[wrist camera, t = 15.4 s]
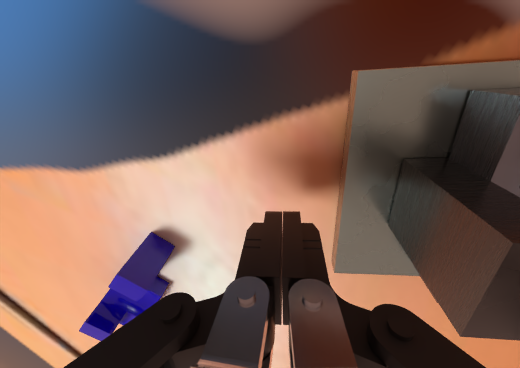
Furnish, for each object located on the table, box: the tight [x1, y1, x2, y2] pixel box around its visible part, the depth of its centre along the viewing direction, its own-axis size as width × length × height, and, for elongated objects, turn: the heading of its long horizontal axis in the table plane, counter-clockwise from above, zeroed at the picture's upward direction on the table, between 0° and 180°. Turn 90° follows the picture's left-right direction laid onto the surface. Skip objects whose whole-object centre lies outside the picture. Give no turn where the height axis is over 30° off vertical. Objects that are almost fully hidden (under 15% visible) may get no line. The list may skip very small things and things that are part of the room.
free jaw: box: [388, 88, 520, 340], centre depth 9 cm, size 5×10×6 cm, turn 3°
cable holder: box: [79, 232, 175, 341], centre depth 17 cm, size 8×4×4 cm, turn 143°
